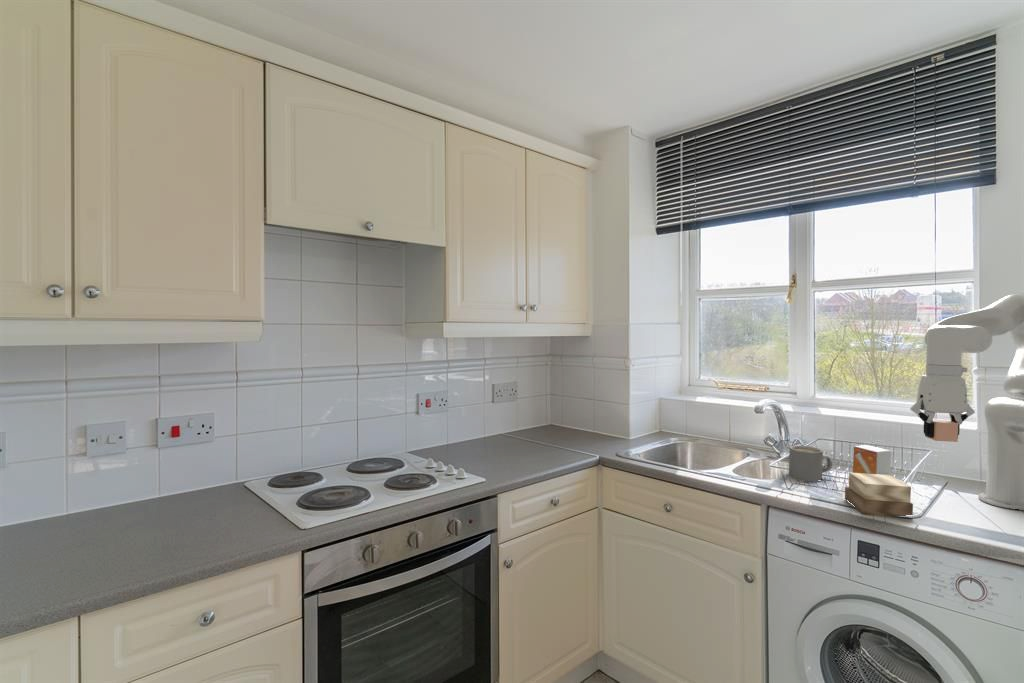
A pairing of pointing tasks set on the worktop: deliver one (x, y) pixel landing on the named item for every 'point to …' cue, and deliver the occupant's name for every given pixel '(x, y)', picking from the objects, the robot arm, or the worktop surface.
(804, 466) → the coffee mug
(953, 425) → the terracotta cube
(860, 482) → the tower top block
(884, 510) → the tower base block
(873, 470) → the small box
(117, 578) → the worktop surface
